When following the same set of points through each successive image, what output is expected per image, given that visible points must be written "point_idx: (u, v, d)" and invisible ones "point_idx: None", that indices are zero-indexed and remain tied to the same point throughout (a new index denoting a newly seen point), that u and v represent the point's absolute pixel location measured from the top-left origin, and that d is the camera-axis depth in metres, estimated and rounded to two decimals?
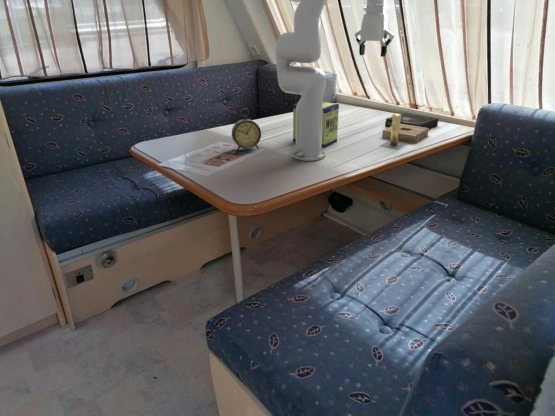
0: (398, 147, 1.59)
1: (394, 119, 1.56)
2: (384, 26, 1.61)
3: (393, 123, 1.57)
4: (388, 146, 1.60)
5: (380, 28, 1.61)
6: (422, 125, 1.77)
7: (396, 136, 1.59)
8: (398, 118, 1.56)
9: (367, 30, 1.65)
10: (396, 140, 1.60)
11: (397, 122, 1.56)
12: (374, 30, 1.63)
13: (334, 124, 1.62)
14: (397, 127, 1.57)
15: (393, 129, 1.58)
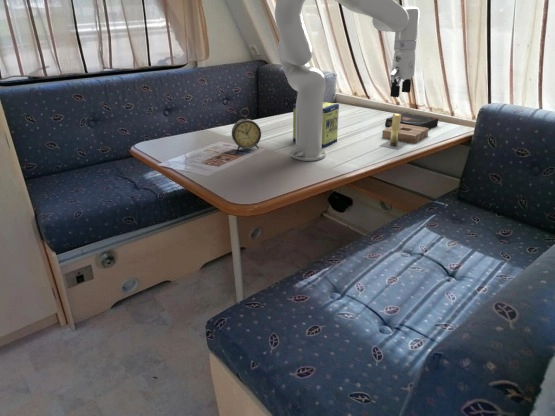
0: (398, 147, 1.59)
1: (394, 119, 1.56)
2: None
3: (393, 123, 1.57)
4: (388, 146, 1.60)
5: (414, 64, 1.50)
6: (422, 125, 1.77)
7: (396, 136, 1.59)
8: (398, 118, 1.56)
9: (408, 68, 1.46)
10: (396, 140, 1.60)
11: (397, 122, 1.56)
12: (411, 67, 1.48)
13: (334, 124, 1.62)
14: (397, 127, 1.57)
15: (393, 129, 1.58)
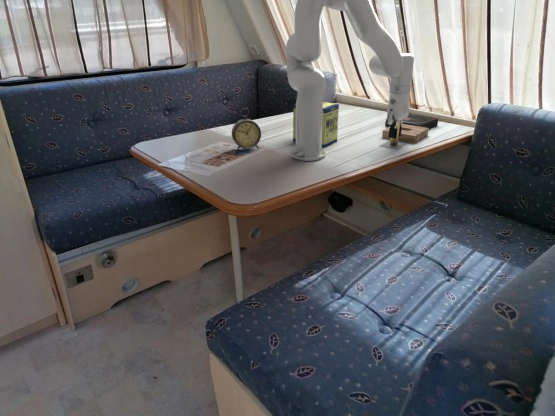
0: (398, 147, 1.59)
1: (394, 119, 1.56)
2: None
3: None
4: (388, 146, 1.60)
5: (408, 105, 1.56)
6: (422, 125, 1.77)
7: None
8: None
9: (402, 110, 1.53)
10: (396, 140, 1.60)
11: None
12: (406, 108, 1.55)
13: (334, 124, 1.62)
14: (397, 127, 1.57)
15: None
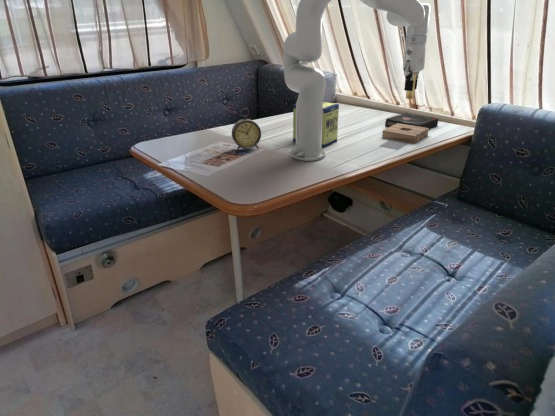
0: (398, 147, 1.59)
1: (410, 71, 1.58)
2: None
3: None
4: (388, 146, 1.60)
5: (424, 57, 1.58)
6: (422, 125, 1.77)
7: None
8: None
9: (418, 61, 1.55)
10: (412, 93, 1.61)
11: None
12: (422, 60, 1.57)
13: (334, 124, 1.62)
14: (413, 79, 1.59)
15: None
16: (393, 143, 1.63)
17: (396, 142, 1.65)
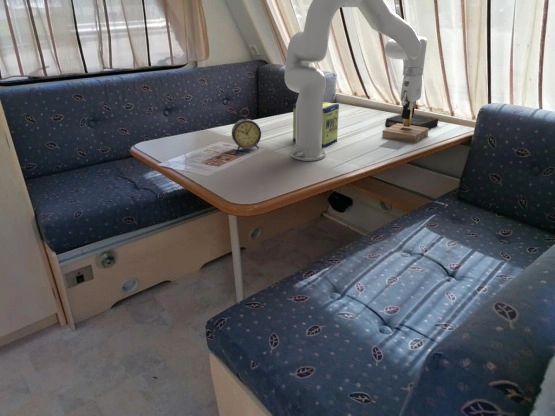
0: (398, 147, 1.59)
1: None
2: None
3: None
4: (388, 146, 1.60)
5: (421, 87, 1.64)
6: (422, 125, 1.77)
7: None
8: None
9: (415, 91, 1.60)
10: (409, 121, 1.67)
11: None
12: (419, 90, 1.63)
13: (334, 124, 1.62)
14: (410, 108, 1.65)
15: None
16: (393, 143, 1.63)
17: (396, 142, 1.65)
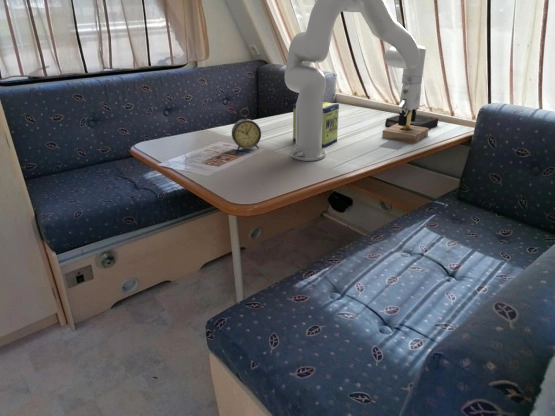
0: (398, 147, 1.59)
1: None
2: None
3: None
4: (388, 146, 1.60)
5: None
6: (422, 125, 1.77)
7: (407, 129, 1.69)
8: (409, 112, 1.66)
9: (414, 100, 1.62)
10: None
11: (408, 116, 1.66)
12: (417, 98, 1.64)
13: (334, 124, 1.62)
14: (408, 120, 1.67)
15: None
16: (393, 143, 1.63)
17: (396, 142, 1.65)
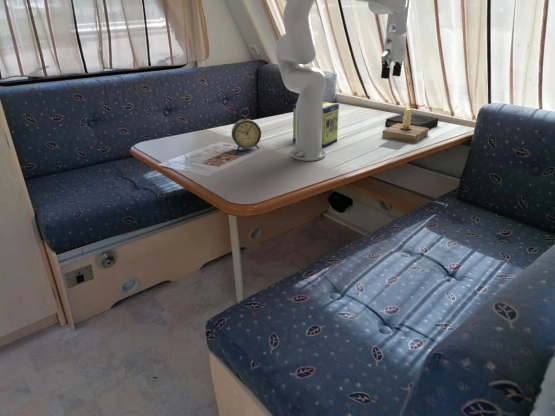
0: (398, 147, 1.59)
1: (405, 113, 1.66)
2: None
3: (404, 117, 1.67)
4: (388, 146, 1.60)
5: (405, 48, 1.56)
6: (422, 125, 1.77)
7: (407, 129, 1.69)
8: (409, 112, 1.65)
9: (398, 51, 1.53)
10: None
11: (408, 116, 1.66)
12: (402, 50, 1.55)
13: (334, 124, 1.62)
14: (408, 121, 1.67)
15: (404, 123, 1.68)
16: (393, 143, 1.63)
17: (396, 142, 1.65)
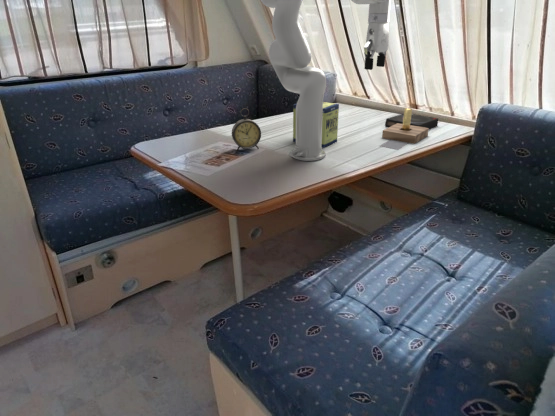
0: (398, 147, 1.59)
1: (405, 113, 1.66)
2: None
3: (404, 117, 1.67)
4: (388, 146, 1.60)
5: (388, 38, 1.54)
6: (422, 125, 1.77)
7: (407, 129, 1.69)
8: (409, 112, 1.65)
9: (381, 41, 1.51)
10: None
11: (408, 116, 1.66)
12: (385, 40, 1.53)
13: (334, 124, 1.62)
14: (408, 121, 1.67)
15: (404, 123, 1.68)
16: (393, 143, 1.63)
17: (396, 142, 1.65)
